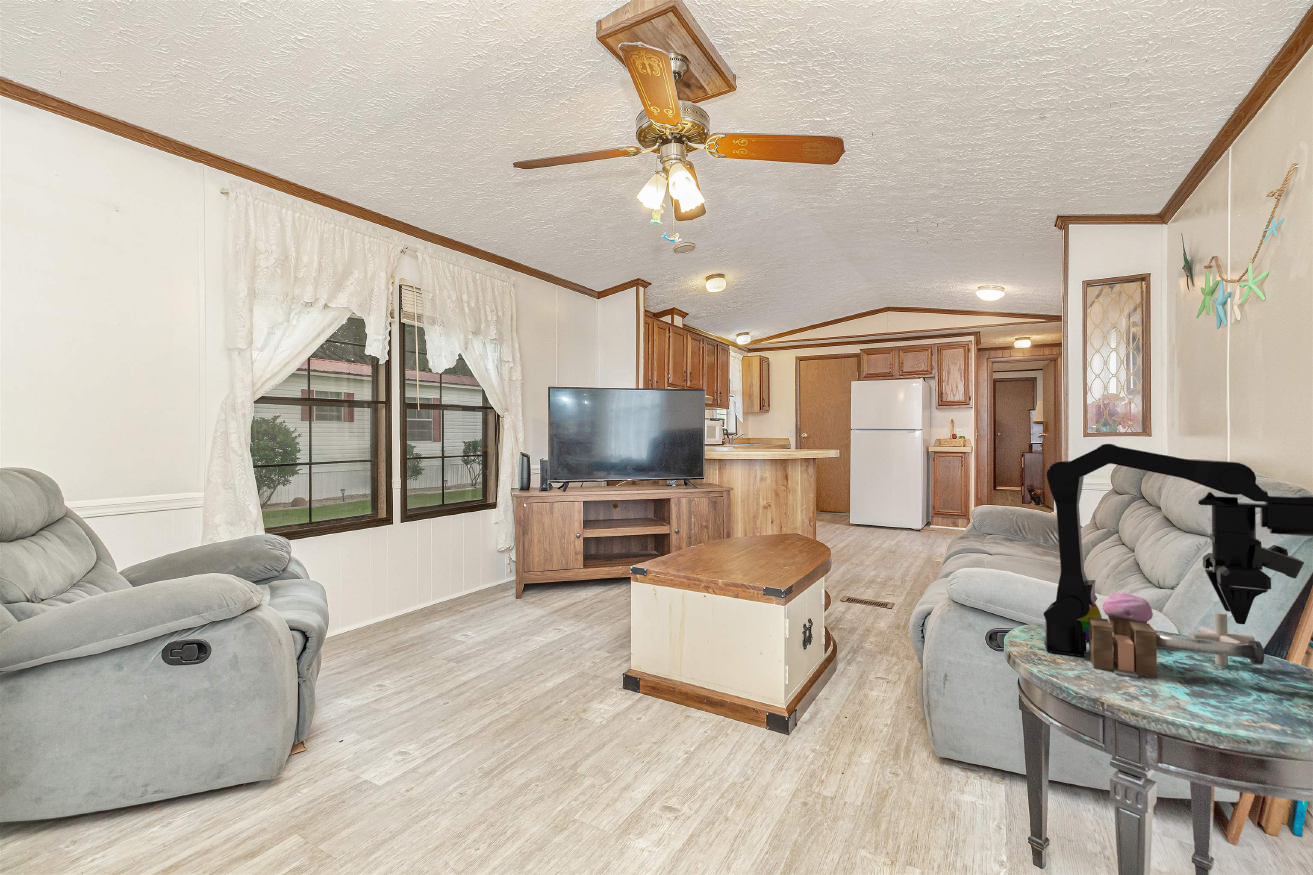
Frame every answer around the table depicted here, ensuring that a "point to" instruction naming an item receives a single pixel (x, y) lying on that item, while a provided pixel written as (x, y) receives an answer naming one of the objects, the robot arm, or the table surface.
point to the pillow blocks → (1139, 635)
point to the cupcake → (1126, 611)
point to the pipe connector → (1220, 635)
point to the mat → (1124, 672)
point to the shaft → (1213, 647)
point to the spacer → (1123, 652)
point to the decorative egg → (1093, 613)
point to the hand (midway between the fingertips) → (1234, 617)
